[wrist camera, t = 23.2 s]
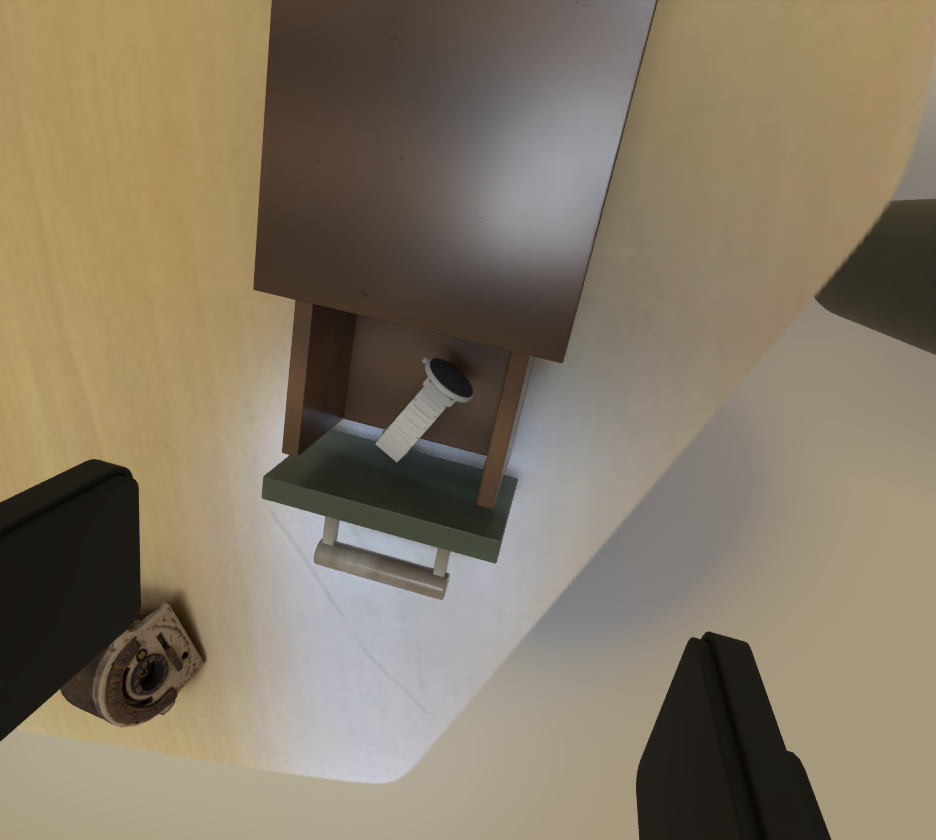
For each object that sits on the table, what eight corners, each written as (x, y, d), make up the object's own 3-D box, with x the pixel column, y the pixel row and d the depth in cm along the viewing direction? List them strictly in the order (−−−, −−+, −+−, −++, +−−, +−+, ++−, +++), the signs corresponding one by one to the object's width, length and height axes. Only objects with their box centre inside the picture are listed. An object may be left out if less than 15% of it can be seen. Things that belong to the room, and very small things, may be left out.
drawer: (496, 564, 35) (476, 642, 28) (313, 513, 36) (255, 577, 30) (581, 228, 28) (579, 233, 22) (352, 180, 29) (286, 170, 23)
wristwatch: (484, 380, 30) (465, 410, 25) (425, 446, 32) (397, 486, 27) (441, 342, 30) (414, 366, 25) (383, 411, 32) (348, 445, 27)
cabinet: (569, 324, 30) (562, 363, 22) (336, 270, 32) (252, 290, 24) (663, -40, 25) (700, -161, 17) (377, -86, 26) (284, -218, 18)
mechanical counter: (159, 778, 40) (145, 696, 34) (-27, 728, 40) (-70, 638, 34) (213, 680, 46) (209, 597, 40) (52, 637, 46) (26, 548, 40)
